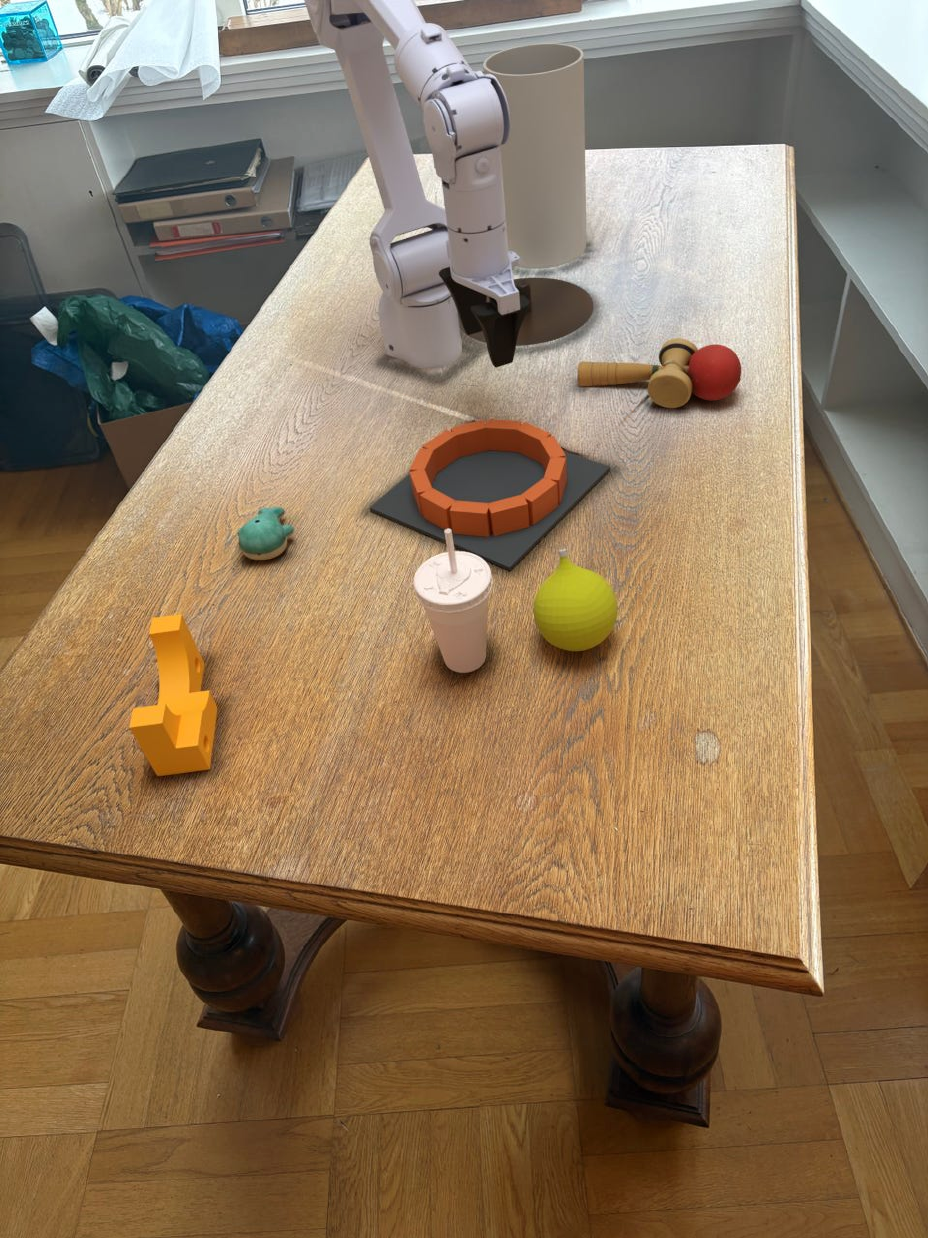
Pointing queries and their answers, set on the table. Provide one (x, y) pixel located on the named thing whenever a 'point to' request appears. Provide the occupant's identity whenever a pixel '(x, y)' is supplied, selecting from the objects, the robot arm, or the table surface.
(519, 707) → the table surface
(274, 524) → the whale figurine
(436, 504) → the ring
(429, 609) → the smoothie
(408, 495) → the mat
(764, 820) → the table surface
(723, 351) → the kendama
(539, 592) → the ornament
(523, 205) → the cylinder vase
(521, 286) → the round disc
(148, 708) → the pipe clamp
